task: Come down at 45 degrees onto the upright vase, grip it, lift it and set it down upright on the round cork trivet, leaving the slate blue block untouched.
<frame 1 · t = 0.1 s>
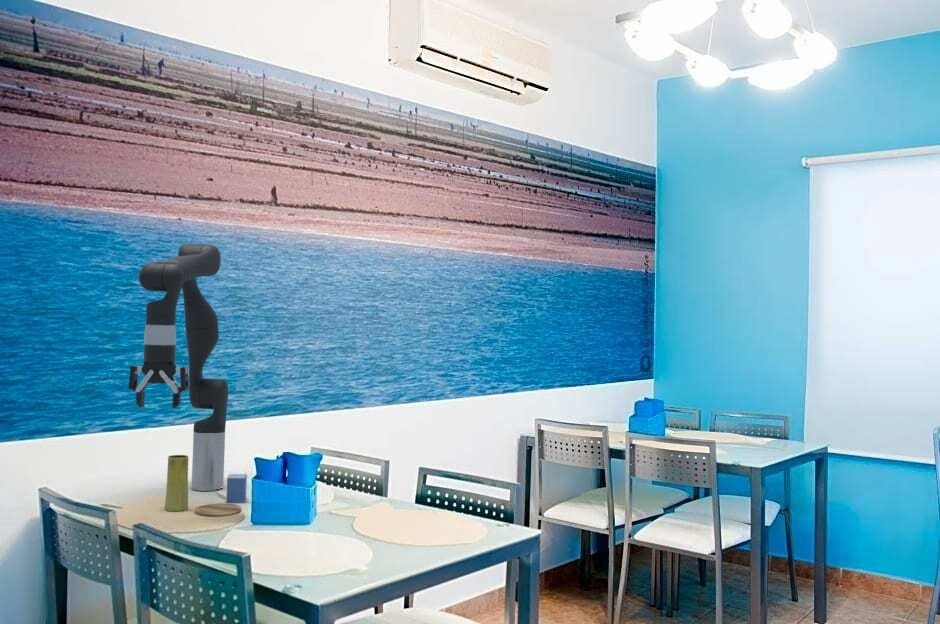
hand: (158, 407, 214), 29 cm above the table, tool pointing down, fingers open, 8 cm apart
vase: (176, 509, 231), on the table
trivet: (218, 511, 230), on the table
slate blue block: (236, 501, 243), on the table
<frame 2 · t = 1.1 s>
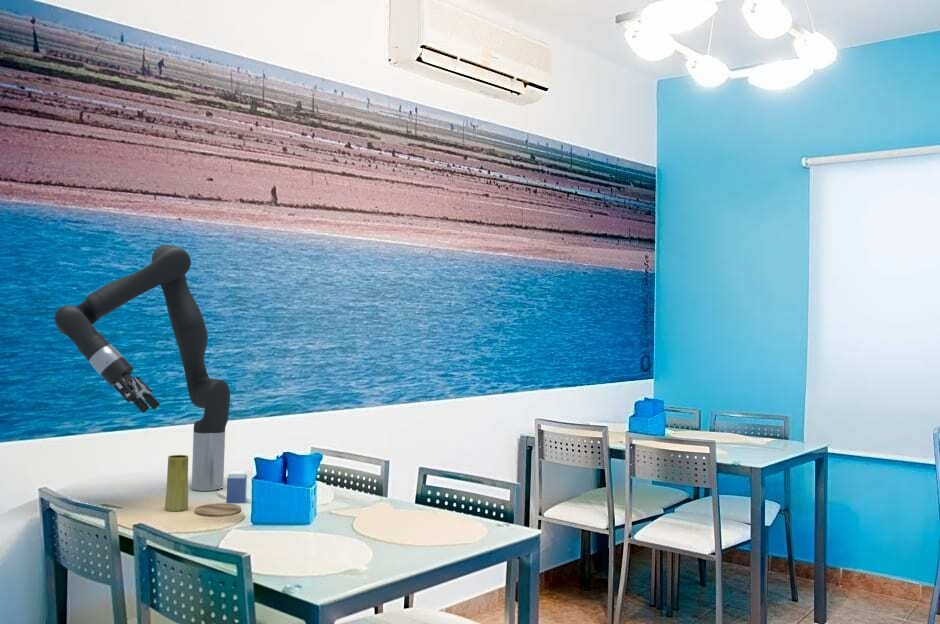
hand: (152, 408, 233), 27 cm above the table, tool tilted 45°, fingers open, 8 cm apart
nothing on the table moved.
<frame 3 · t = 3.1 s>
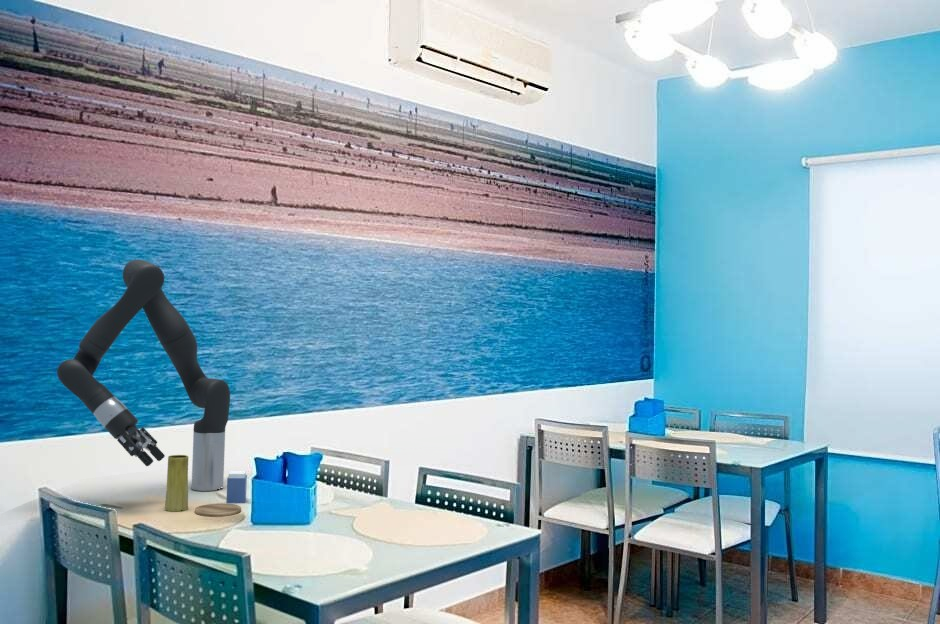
hand: (156, 461, 231), 13 cm above the table, tool tilted 45°, fingers open, 8 cm apart
nothing on the table moved.
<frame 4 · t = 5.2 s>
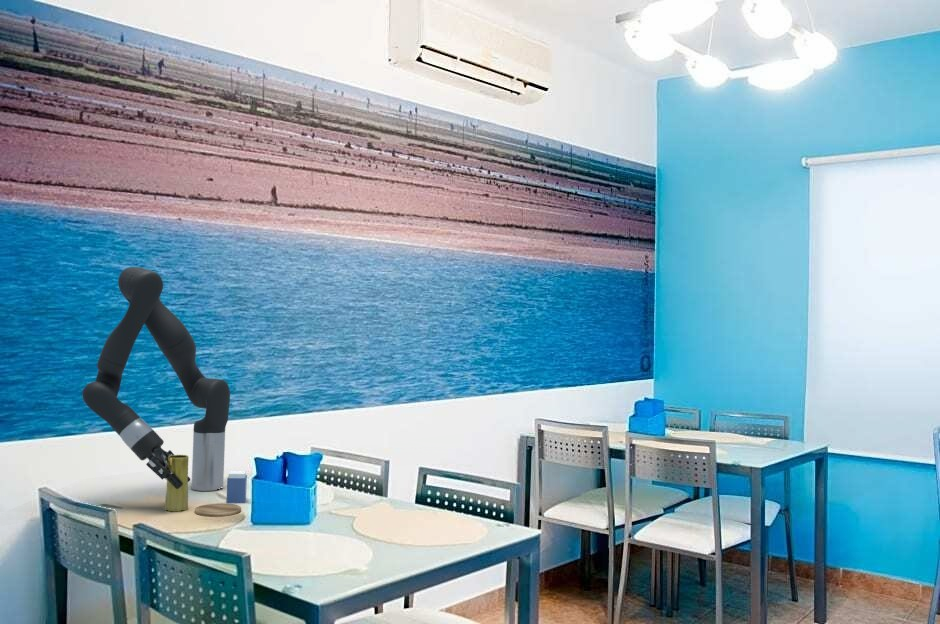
hand: (184, 484, 231), 7 cm above the table, tool tilted 45°, fingers closed on vase, 5 cm apart
vase: (176, 509, 231), on the table, touching gripper
everything else where it was.
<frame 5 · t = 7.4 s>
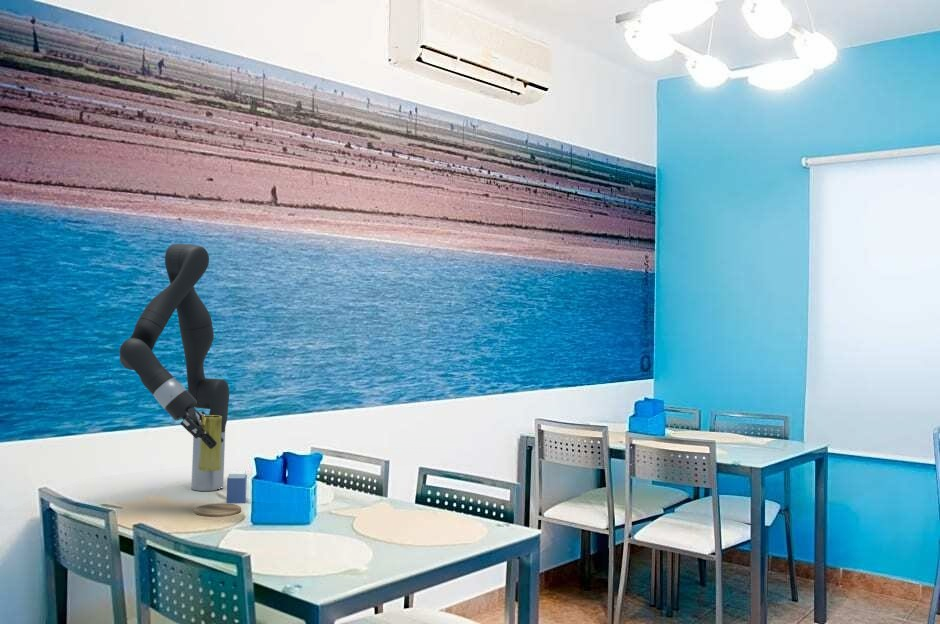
hand: (217, 444, 230), 18 cm above the table, tool tilted 45°, fingers closed on vase, 5 cm apart
vase: (209, 470, 230), point 11 cm above the table, touching gripper
everything else where it was.
when the fingers open (9 cm above the table, at t = 9.9 s): vase stays where it is, resting on trivet.
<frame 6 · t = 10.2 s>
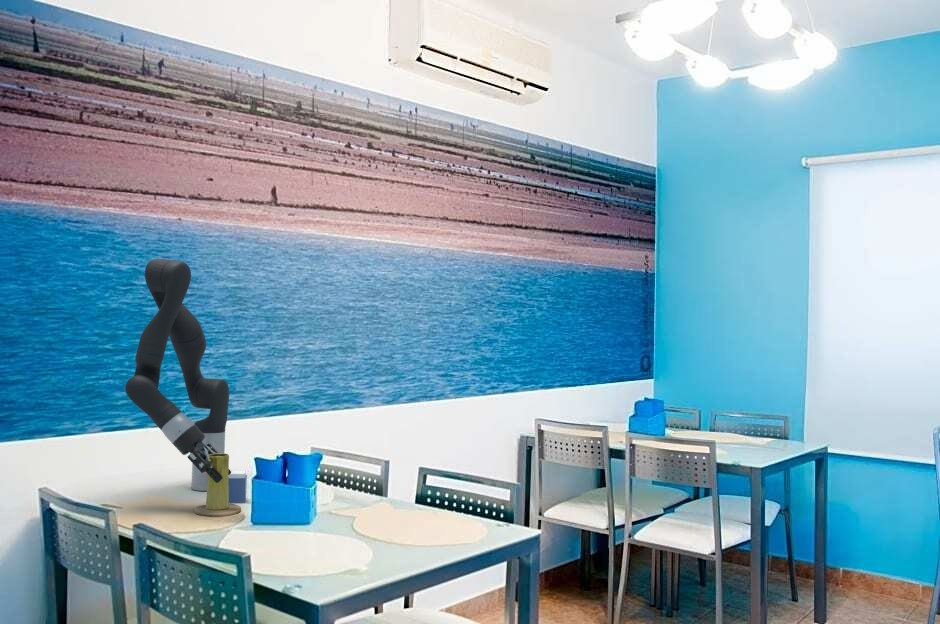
hand: (224, 477, 230), 9 cm above the table, tool tilted 45°, fingers open, 7 cm apart
vase: (217, 508, 230), point 1 cm above the table, touching trivet
everything else where it was.
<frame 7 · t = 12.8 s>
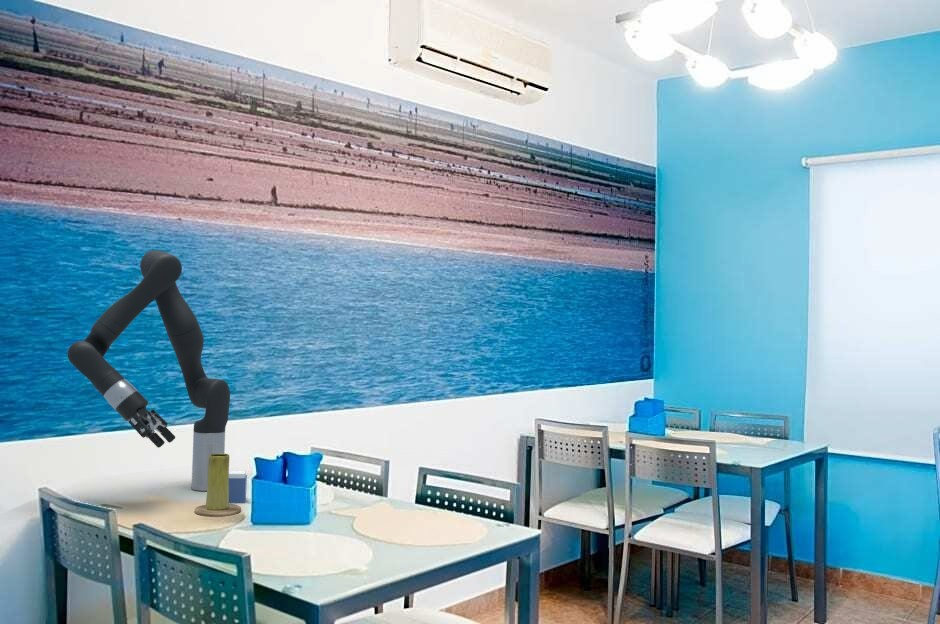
hand: (167, 442, 231), 18 cm above the table, tool tilted 45°, fingers open, 8 cm apart
nothing on the table moved.
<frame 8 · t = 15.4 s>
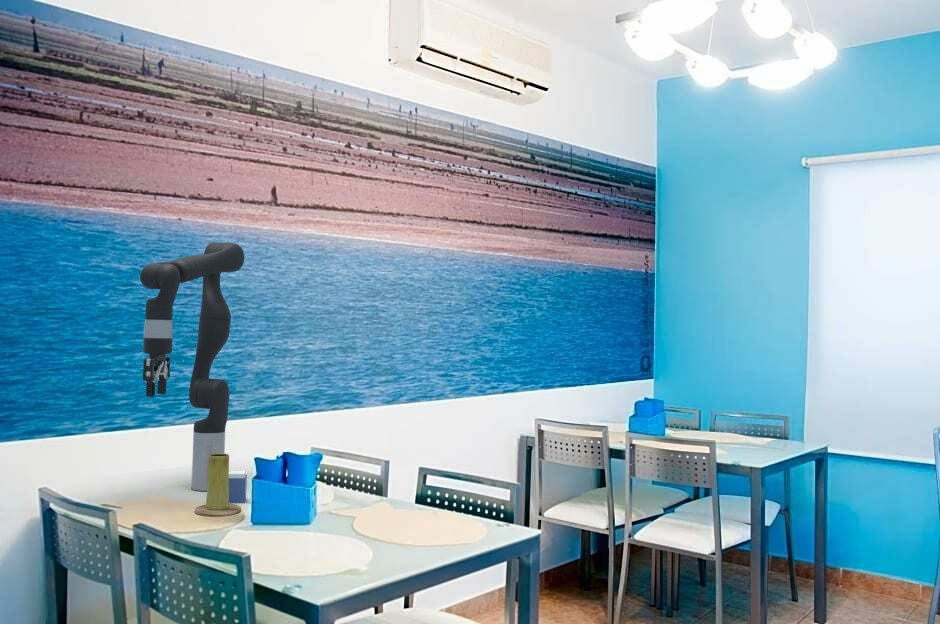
hand: (156, 395, 235), 30 cm above the table, tool pointing down, fingers open, 8 cm apart
nothing on the table moved.
at the end: vase 0.2 cm from the trivet (horizontally); vase tilted 0°; the gripper is holding nothing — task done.
